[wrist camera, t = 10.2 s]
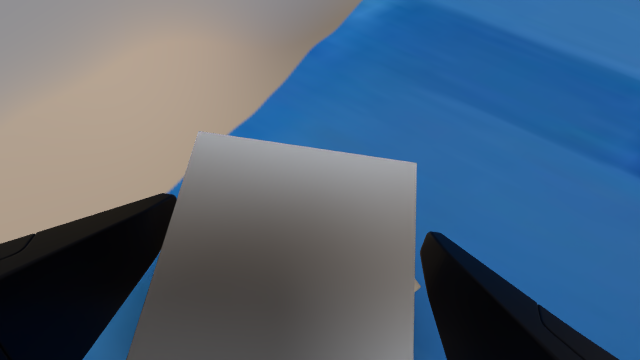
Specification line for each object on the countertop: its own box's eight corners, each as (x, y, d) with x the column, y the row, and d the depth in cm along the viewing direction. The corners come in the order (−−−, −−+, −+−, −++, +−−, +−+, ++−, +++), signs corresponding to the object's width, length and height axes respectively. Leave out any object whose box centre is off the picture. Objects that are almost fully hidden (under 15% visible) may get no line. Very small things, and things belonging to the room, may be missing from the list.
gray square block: (334, 313, 16) (411, 436, 4) (252, 302, 16) (114, 397, 4) (343, 230, 17) (416, 163, 6) (268, 219, 17) (198, 131, 6)
